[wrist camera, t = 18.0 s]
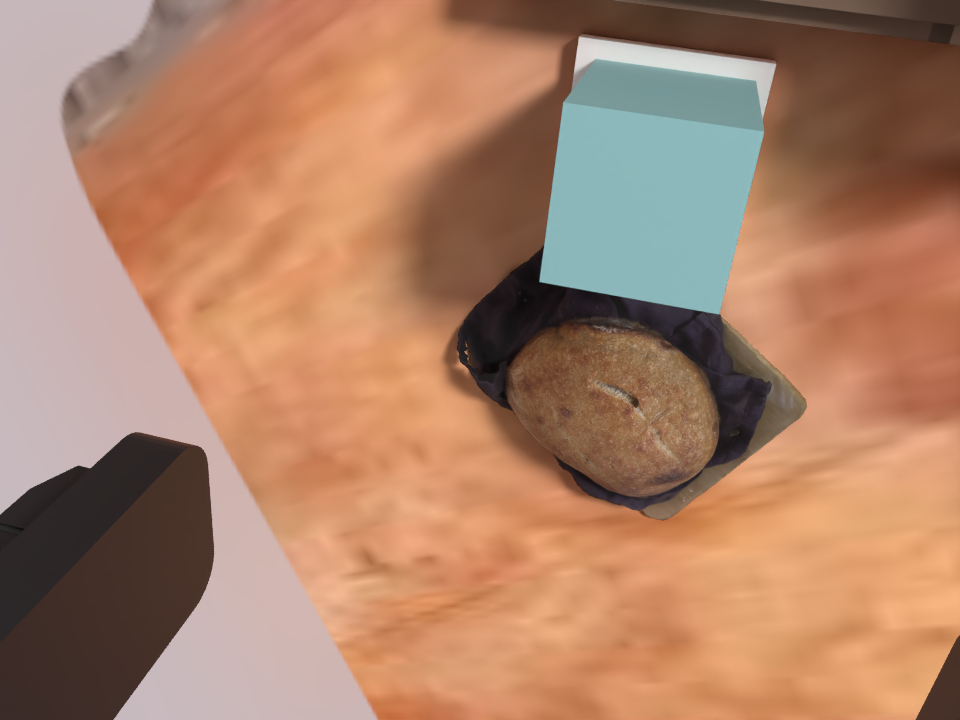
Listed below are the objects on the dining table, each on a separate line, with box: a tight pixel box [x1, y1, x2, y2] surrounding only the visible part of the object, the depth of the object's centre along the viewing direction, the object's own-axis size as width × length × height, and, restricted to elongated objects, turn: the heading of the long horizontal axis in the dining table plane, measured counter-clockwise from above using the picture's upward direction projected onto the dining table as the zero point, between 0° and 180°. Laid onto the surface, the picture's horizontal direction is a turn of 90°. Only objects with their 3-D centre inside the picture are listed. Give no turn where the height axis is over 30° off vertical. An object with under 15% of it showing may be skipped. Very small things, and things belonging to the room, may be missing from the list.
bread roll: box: [457, 246, 807, 520], centre depth 30 cm, size 11×8×4 cm
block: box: [539, 59, 764, 314], centre depth 24 cm, size 4×4×6 cm
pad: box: [571, 34, 776, 120], centre depth 26 cm, size 6×6×1 cm
